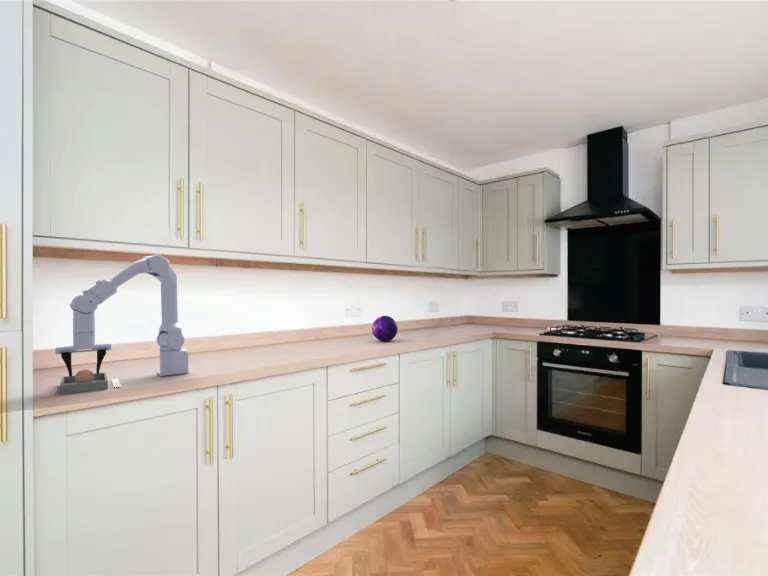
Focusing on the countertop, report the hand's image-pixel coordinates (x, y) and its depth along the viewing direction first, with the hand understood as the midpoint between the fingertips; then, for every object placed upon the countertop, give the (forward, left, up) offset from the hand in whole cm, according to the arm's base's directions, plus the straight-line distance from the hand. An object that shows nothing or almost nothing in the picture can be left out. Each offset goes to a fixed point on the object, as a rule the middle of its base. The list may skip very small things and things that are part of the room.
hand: (84, 374), depth 134 cm
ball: (0, 0, -1) cm, 1 cm away
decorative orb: (-143, -34, -4) cm, 147 cm away
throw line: (-8, 0, -4) cm, 9 cm away
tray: (0, 0, -4) cm, 4 cm away
